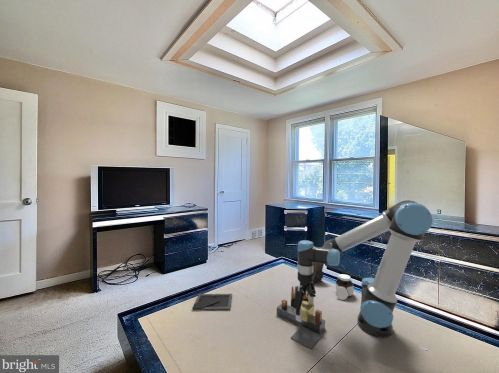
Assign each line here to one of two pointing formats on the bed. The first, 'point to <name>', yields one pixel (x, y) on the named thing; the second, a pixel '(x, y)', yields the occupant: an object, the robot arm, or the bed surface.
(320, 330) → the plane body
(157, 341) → the bed surface
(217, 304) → the picture frame
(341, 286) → the spread jar
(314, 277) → the brown rock
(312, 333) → the felt mat
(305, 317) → the lever cap
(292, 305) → the ammunition clip
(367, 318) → the robot arm
